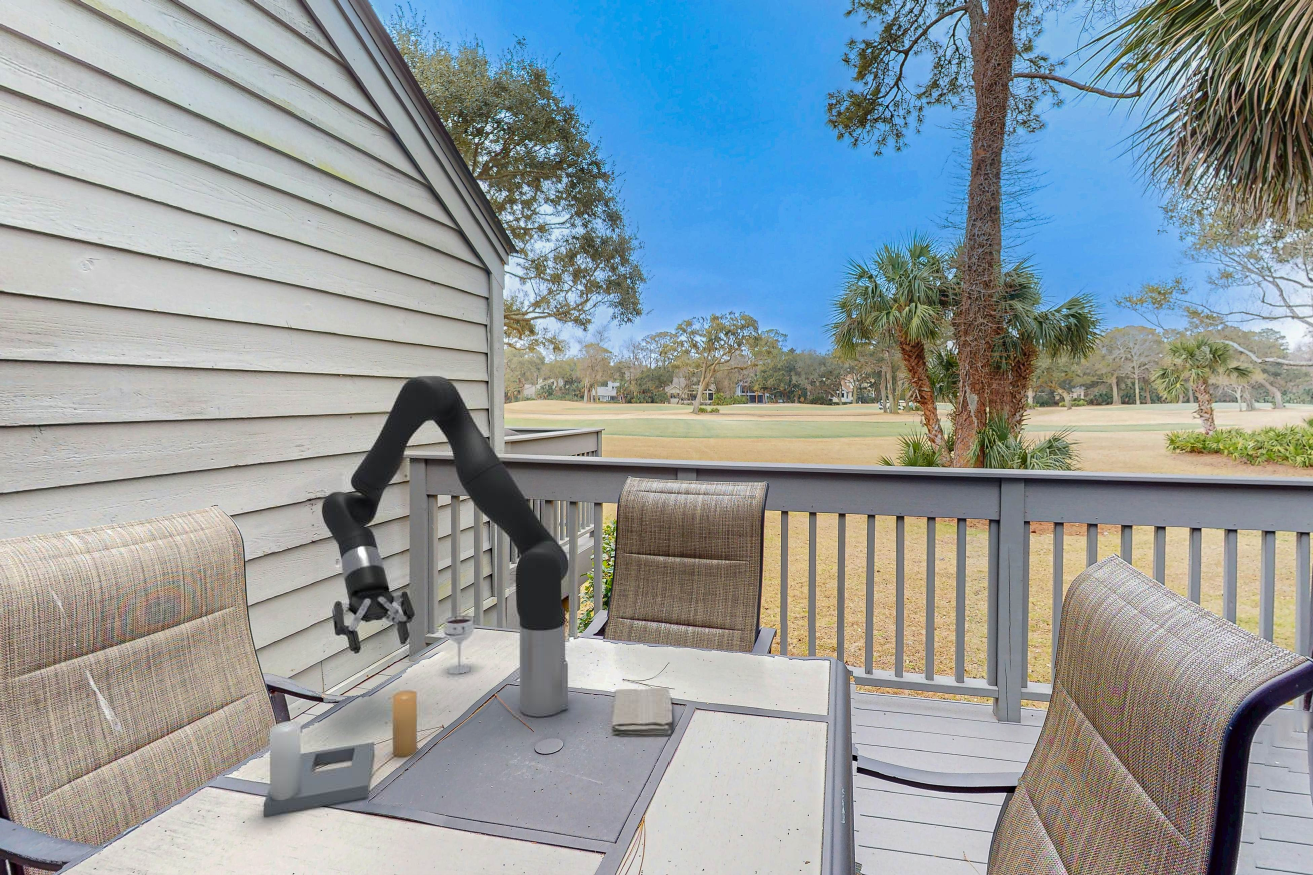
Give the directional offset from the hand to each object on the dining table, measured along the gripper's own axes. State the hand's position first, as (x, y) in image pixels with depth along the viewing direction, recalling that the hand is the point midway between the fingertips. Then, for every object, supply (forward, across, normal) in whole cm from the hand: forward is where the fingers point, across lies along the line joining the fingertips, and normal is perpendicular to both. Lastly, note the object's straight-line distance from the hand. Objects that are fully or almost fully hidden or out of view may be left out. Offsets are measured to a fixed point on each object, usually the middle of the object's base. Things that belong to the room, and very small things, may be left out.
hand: (381, 646), depth 120 cm
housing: (+20, -13, +2) cm, 24 cm away
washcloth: (+31, +41, -10) cm, 52 cm away
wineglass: (-1, +23, +23) cm, 33 cm away
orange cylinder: (+19, 0, +2) cm, 19 cm away
